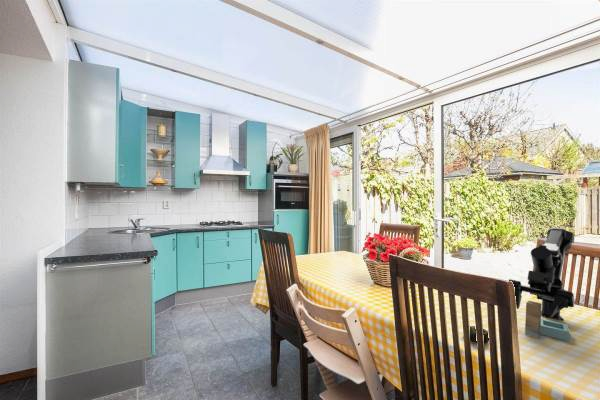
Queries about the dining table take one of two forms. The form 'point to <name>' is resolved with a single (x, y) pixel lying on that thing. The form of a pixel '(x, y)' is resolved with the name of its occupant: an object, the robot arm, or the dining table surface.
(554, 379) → the dining table surface
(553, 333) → the square teal collar
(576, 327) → the dining table surface
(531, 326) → the square wooden post
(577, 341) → the dining table surface
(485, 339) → the tape measure
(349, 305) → the dining table surface
